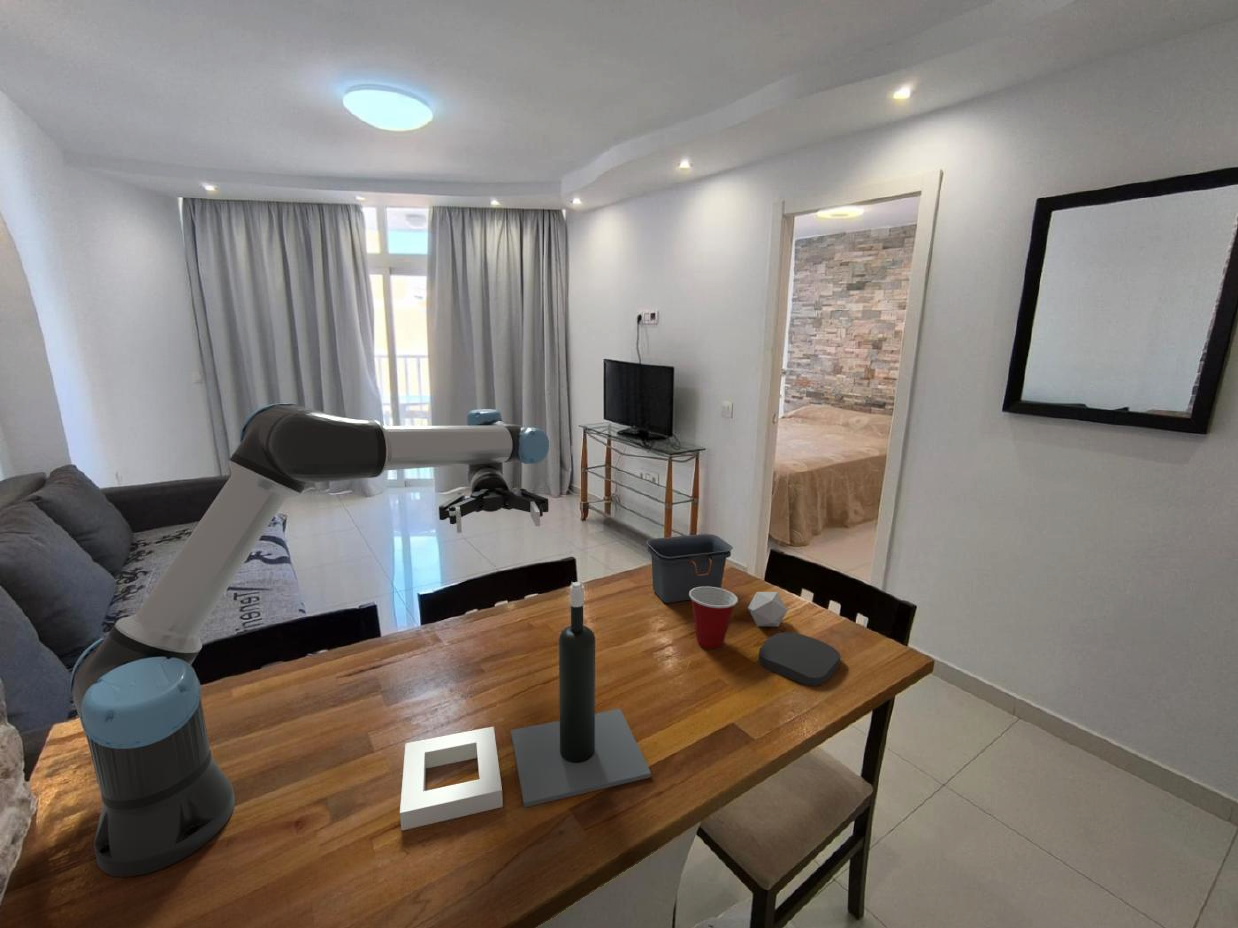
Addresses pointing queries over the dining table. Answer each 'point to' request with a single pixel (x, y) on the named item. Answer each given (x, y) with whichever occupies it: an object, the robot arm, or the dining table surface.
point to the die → (767, 609)
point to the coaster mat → (559, 778)
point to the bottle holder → (454, 798)
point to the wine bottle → (577, 684)
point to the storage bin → (687, 564)
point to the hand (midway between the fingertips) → (499, 522)
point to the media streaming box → (799, 658)
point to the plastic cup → (711, 614)
